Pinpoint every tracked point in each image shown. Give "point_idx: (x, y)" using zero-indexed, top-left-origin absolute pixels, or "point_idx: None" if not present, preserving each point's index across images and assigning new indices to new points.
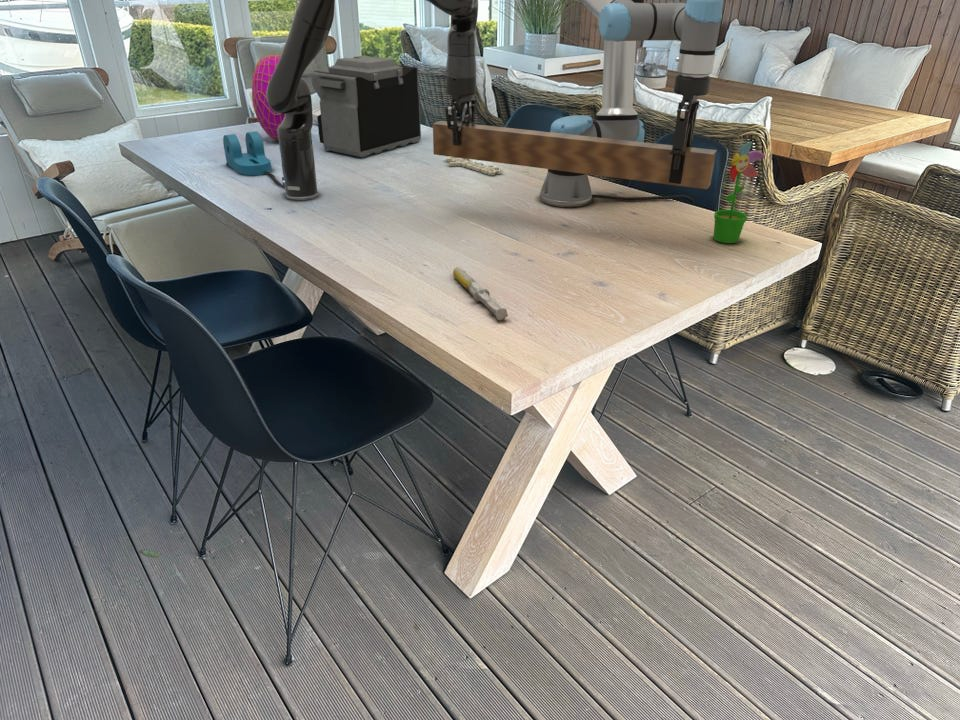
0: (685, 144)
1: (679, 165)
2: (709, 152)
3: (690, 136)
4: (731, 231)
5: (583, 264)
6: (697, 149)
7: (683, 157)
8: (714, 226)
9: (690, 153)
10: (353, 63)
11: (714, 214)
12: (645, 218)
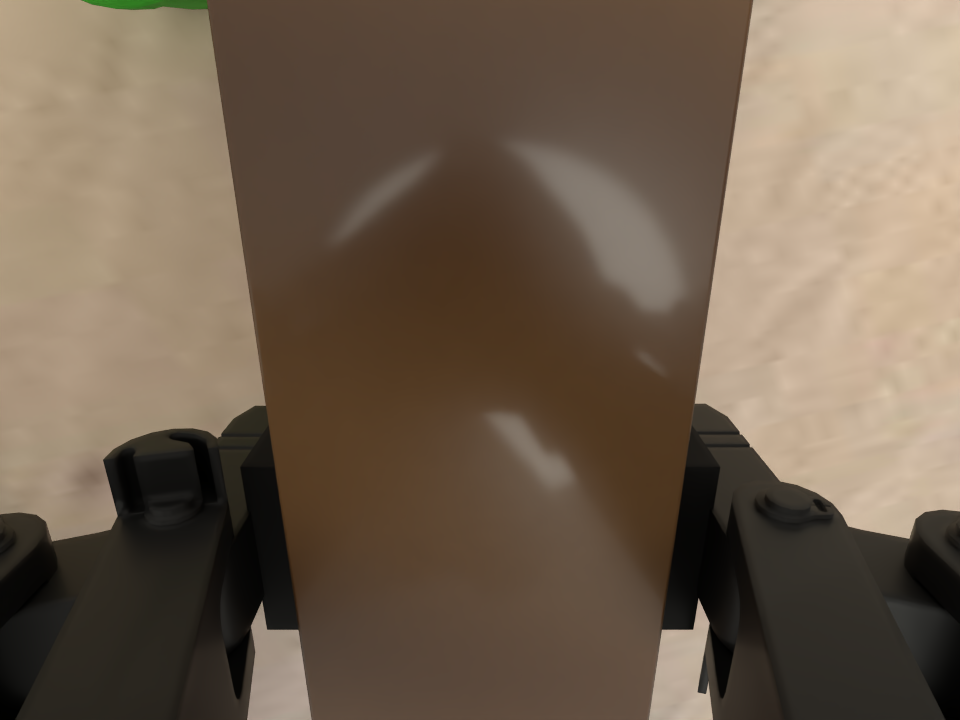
0: (880, 639)
1: (726, 434)
2: (586, 3)
3: (187, 705)
4: None
5: (823, 497)
6: (401, 336)
7: (710, 464)
8: (189, 2)
9: (683, 406)
10: None
11: (145, 7)
12: (124, 415)
